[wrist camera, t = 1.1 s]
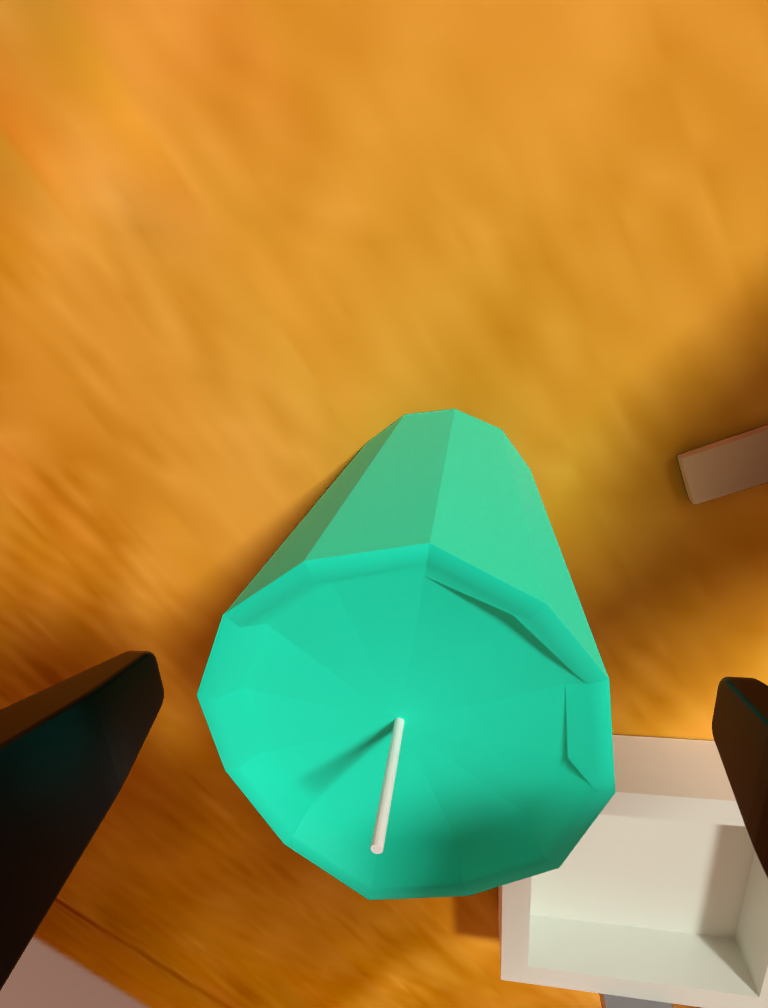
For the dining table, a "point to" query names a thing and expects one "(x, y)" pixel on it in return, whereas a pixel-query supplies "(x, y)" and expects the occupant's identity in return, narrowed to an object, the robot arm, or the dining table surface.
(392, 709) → the candle
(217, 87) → the dining table surface
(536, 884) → the white square tray
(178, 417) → the dining table surface
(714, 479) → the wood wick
